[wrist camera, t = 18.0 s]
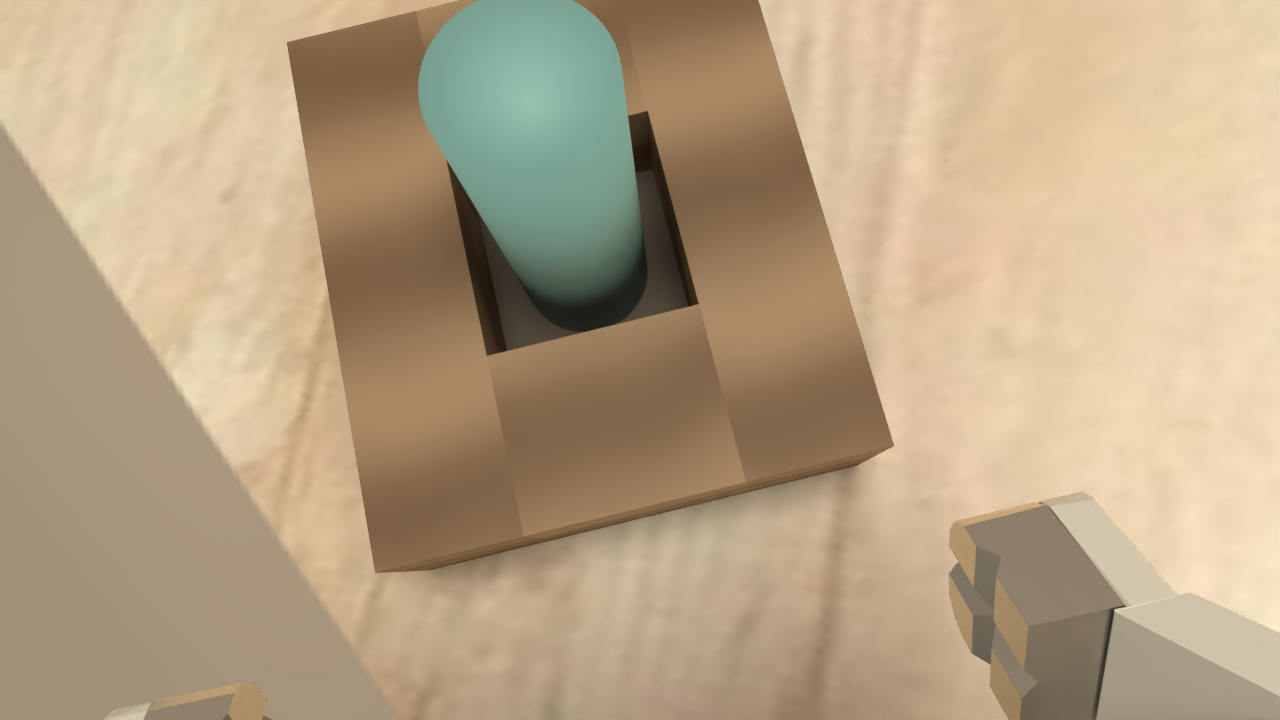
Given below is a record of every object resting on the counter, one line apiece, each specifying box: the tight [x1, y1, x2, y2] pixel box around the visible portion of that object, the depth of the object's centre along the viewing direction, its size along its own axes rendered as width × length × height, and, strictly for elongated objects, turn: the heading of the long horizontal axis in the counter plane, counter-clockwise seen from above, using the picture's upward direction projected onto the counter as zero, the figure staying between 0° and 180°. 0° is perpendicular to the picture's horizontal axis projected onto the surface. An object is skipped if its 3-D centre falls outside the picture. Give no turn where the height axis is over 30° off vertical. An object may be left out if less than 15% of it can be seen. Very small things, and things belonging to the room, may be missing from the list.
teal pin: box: [418, 0, 648, 332], centre depth 23 cm, size 4×4×12 cm
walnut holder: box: [287, 0, 894, 573], centre depth 28 cm, size 16×14×5 cm
